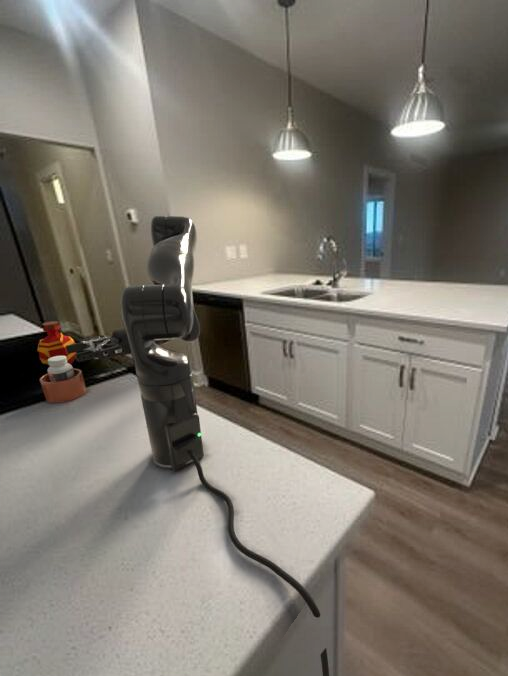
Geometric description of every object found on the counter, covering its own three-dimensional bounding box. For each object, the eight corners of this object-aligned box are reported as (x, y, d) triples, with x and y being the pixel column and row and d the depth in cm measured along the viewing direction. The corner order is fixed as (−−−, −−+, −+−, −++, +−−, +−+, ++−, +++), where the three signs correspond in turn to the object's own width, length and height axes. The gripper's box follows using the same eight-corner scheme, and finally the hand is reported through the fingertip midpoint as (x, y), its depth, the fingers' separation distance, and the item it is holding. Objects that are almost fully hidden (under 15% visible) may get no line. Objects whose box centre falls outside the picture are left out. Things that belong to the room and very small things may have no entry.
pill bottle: (50, 397, 89) (39, 362, 85) (61, 387, 94) (51, 354, 90) (72, 396, 89) (62, 361, 86) (82, 387, 94) (73, 354, 91)
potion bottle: (89, 367, 108) (77, 321, 102) (53, 379, 100) (38, 330, 94) (72, 361, 113) (60, 316, 107) (36, 371, 105) (21, 324, 99)
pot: (91, 393, 92) (86, 375, 90) (50, 406, 86) (44, 386, 83) (80, 383, 98) (75, 365, 96) (41, 394, 91) (35, 375, 89)
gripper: (121, 322, 104) (59, 334, 93) (142, 332, 95) (76, 346, 84) (126, 345, 107) (66, 360, 96) (146, 357, 98) (83, 374, 87)
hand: (71, 353), depth 90 cm, fingers open, 8 cm apart
